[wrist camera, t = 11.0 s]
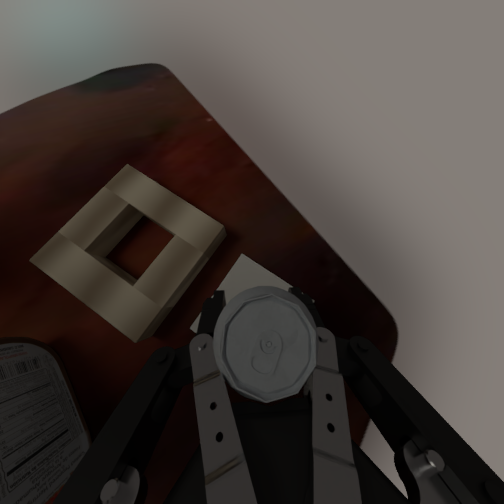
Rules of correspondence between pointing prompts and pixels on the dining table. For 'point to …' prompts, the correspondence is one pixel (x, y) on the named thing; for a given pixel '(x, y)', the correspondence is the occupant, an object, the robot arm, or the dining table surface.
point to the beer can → (265, 343)
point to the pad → (246, 281)
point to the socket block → (111, 233)
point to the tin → (37, 423)
